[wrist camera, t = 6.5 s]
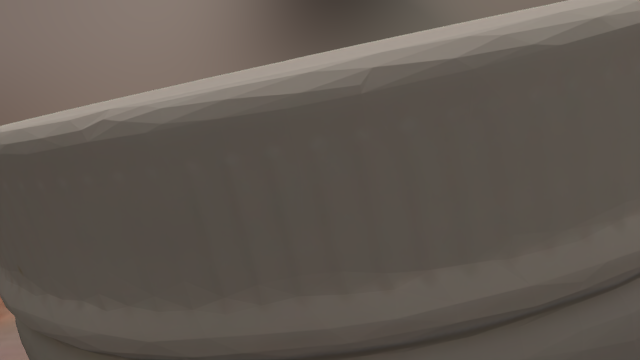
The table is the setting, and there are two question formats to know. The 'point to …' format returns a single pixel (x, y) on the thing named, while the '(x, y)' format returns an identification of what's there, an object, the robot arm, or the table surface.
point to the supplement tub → (345, 204)
